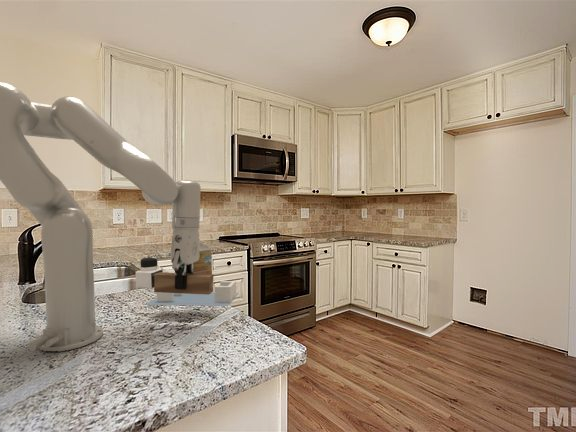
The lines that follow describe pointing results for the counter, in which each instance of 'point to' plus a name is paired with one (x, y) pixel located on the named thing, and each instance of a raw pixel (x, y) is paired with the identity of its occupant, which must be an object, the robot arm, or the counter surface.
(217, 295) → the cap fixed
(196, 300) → the board
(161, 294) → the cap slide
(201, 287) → the brown rectangular block
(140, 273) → the medicine bottle
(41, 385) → the counter surface
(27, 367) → the counter surface
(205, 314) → the counter surface
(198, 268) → the milk carton
